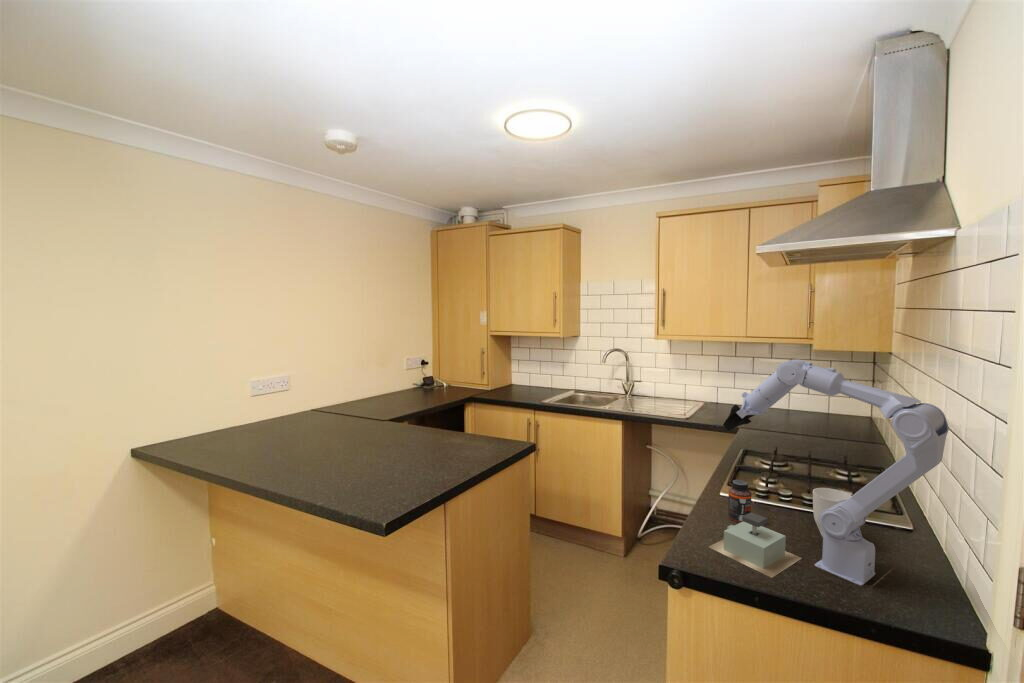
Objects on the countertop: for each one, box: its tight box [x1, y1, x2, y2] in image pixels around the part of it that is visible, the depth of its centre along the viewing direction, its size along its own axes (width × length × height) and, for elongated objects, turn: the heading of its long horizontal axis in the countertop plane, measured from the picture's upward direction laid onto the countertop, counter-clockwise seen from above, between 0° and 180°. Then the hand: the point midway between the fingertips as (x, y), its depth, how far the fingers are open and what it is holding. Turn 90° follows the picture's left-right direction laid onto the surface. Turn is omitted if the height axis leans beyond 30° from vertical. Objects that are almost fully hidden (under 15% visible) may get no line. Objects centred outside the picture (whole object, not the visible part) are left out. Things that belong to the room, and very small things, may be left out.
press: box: [723, 522, 787, 568], centre depth 113 cm, size 12×10×5 cm
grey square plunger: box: [742, 511, 768, 536], centre depth 112 cm, size 4×4×6 cm
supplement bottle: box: [727, 479, 752, 524], centre depth 130 cm, size 6×6×11 cm
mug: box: [812, 487, 852, 538], centre depth 120 cm, size 12×9×12 cm
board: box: [708, 538, 803, 579], centre depth 113 cm, size 16×14×1 cm
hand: (732, 423), depth 126 cm, fingers open, 7 cm apart
